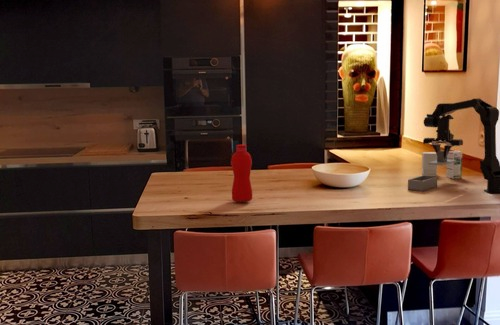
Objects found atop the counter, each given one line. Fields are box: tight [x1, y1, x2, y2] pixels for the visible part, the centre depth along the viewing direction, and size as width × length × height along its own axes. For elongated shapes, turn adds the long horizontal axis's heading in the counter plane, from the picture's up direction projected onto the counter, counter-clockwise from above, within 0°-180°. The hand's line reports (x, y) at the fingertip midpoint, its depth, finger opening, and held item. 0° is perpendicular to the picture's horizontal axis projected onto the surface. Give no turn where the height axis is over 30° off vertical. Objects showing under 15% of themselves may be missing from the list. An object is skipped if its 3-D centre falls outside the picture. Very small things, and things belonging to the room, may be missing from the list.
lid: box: [428, 149, 456, 167], centre depth 266 cm, size 16×7×6 cm, turn 136°
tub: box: [407, 174, 438, 193], centre depth 252 cm, size 16×7×5 cm, turn 136°
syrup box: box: [445, 150, 463, 179], centre depth 279 cm, size 6×6×14 cm
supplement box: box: [421, 151, 438, 177], centre depth 289 cm, size 7×7×13 cm
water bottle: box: [230, 144, 253, 203], centre depth 232 cm, size 9×11×25 cm
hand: (442, 158), depth 266 cm, fingers closed on lid, 3 cm apart
